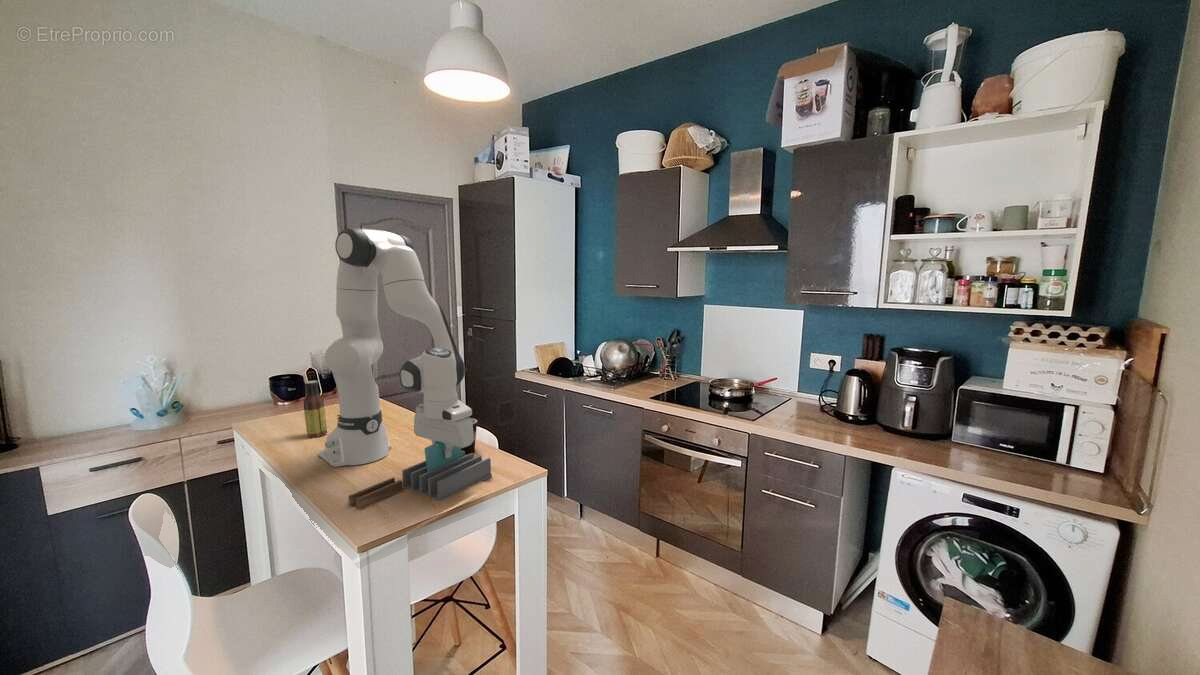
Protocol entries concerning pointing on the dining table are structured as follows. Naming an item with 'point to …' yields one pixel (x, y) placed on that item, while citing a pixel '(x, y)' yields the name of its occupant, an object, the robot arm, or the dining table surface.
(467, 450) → the coffee mug
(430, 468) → the plate
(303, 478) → the dining table surface
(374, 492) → the stand
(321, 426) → the sauce bottle
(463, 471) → the rack
